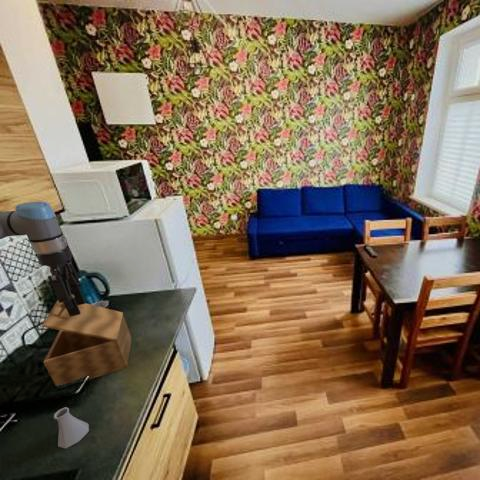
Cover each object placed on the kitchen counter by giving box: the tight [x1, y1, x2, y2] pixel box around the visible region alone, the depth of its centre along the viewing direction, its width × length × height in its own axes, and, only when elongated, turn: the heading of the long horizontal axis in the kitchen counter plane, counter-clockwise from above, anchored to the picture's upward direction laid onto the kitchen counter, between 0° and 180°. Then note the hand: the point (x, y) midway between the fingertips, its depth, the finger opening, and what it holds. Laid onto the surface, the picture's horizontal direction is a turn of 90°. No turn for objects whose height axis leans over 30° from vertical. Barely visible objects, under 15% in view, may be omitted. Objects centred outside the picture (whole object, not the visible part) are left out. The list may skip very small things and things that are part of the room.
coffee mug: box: [90, 300, 120, 312], centre depth 121 cm, size 12×9×10 cm
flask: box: [53, 406, 90, 449], centre depth 77 cm, size 7×7×10 cm
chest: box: [42, 314, 132, 387], centre depth 101 cm, size 20×17×13 cm
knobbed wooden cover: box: [41, 294, 124, 341], centre depth 96 cm, size 21×17×6 cm
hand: (78, 309), depth 94 cm, fingers closed on knobbed wooden cover, 6 cm apart
